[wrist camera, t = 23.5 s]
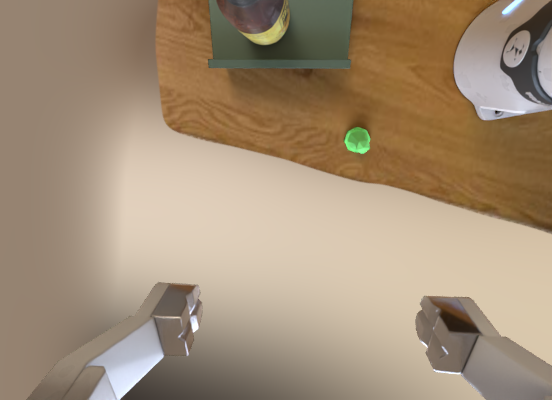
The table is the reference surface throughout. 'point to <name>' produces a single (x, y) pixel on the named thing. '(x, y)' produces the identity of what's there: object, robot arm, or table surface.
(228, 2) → the sauce bottle
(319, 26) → the shelf
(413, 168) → the table surface
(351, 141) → the game piece
